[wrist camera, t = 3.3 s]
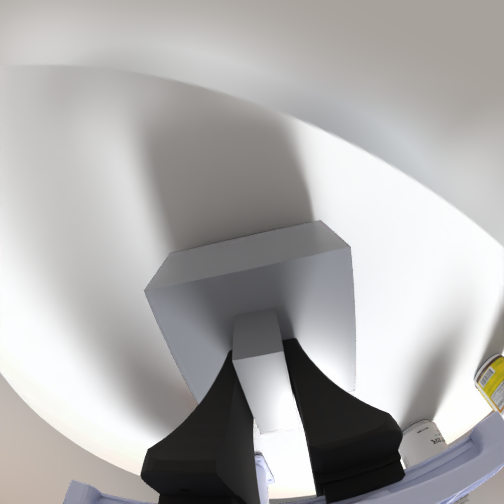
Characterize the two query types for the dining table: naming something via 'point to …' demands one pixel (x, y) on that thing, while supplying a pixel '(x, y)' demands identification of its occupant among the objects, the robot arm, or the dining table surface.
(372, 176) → the dining table surface
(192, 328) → the grey stepped block
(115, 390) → the dining table surface
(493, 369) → the supplement bottle
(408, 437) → the energy drink can
